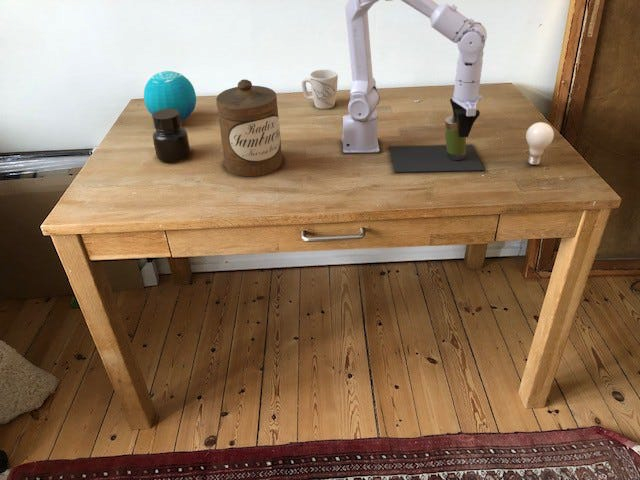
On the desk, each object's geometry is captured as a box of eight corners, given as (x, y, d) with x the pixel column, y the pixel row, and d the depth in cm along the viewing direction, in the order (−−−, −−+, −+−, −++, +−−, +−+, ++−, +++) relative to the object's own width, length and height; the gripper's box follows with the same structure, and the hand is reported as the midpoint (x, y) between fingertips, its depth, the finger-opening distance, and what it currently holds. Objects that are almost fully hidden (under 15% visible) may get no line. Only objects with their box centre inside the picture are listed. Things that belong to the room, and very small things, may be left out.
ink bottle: (180, 145, 152) (172, 103, 145) (198, 154, 147) (191, 112, 140) (149, 157, 147) (139, 114, 140) (167, 167, 141) (158, 124, 134)
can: (448, 161, 139) (446, 124, 133) (445, 152, 143) (443, 116, 137) (468, 158, 138) (467, 121, 132) (464, 149, 142) (463, 113, 136)
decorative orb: (176, 135, 157) (166, 84, 148) (138, 126, 163) (127, 76, 155) (210, 116, 168) (202, 68, 159) (173, 108, 174) (163, 61, 165)
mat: (395, 173, 136) (395, 171, 135) (389, 147, 147) (389, 146, 147) (484, 171, 135) (484, 169, 135) (471, 145, 147) (471, 144, 146)
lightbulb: (533, 172, 134) (542, 131, 127) (514, 162, 138) (522, 121, 132) (552, 166, 136) (562, 125, 130) (533, 156, 141) (542, 116, 134)
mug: (298, 108, 171) (296, 77, 165) (307, 98, 177) (305, 68, 171) (333, 111, 168) (333, 79, 162) (341, 101, 174) (340, 70, 169)
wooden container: (240, 182, 134) (228, 96, 121) (216, 159, 144) (203, 77, 131) (292, 166, 140) (287, 82, 127) (266, 145, 150) (258, 65, 138)
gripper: (492, 89, 123) (484, 144, 131) (477, 68, 134) (471, 119, 142) (461, 90, 123) (454, 145, 131) (449, 69, 135) (443, 120, 143)
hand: (461, 132), depth 137 cm, fingers closed on can, 5 cm apart
